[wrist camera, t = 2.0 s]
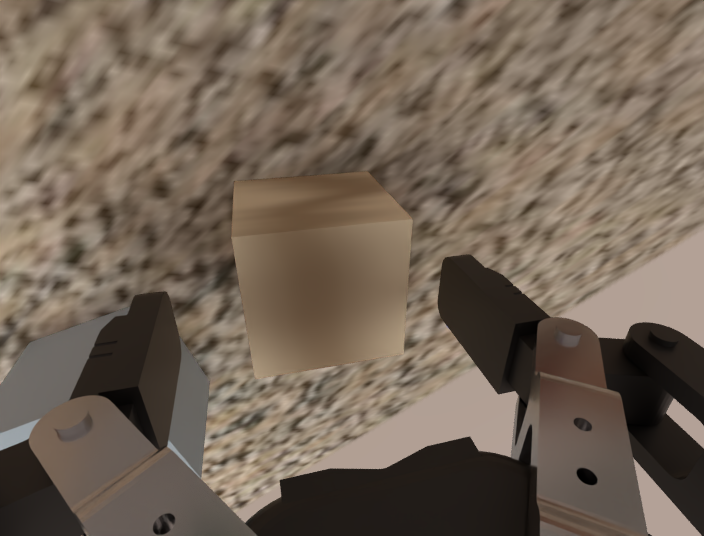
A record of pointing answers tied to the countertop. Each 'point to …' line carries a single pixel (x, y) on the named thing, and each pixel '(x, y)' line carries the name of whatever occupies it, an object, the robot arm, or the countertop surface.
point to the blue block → (63, 373)
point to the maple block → (320, 270)
